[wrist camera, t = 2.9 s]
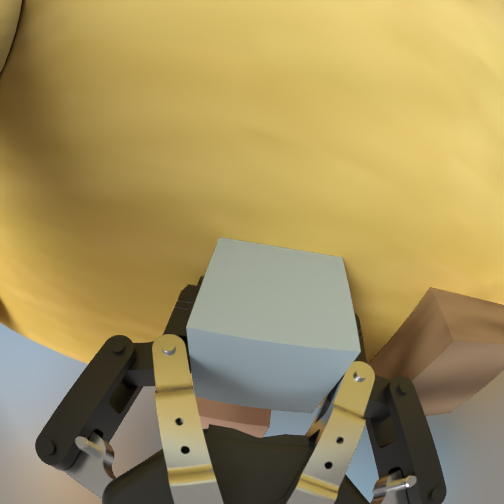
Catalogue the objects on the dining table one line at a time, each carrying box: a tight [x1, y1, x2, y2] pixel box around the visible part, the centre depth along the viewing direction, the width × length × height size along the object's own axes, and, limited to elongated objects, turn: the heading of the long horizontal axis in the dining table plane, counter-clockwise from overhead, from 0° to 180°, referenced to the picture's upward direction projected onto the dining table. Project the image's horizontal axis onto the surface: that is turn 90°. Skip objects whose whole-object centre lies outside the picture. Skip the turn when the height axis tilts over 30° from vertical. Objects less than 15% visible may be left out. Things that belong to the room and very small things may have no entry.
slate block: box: [186, 237, 361, 413], centre depth 12 cm, size 6×6×5 cm
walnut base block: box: [368, 287, 504, 416], centre depth 14 cm, size 9×9×4 cm
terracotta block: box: [194, 393, 271, 438], centre depth 16 cm, size 4×4×5 cm
